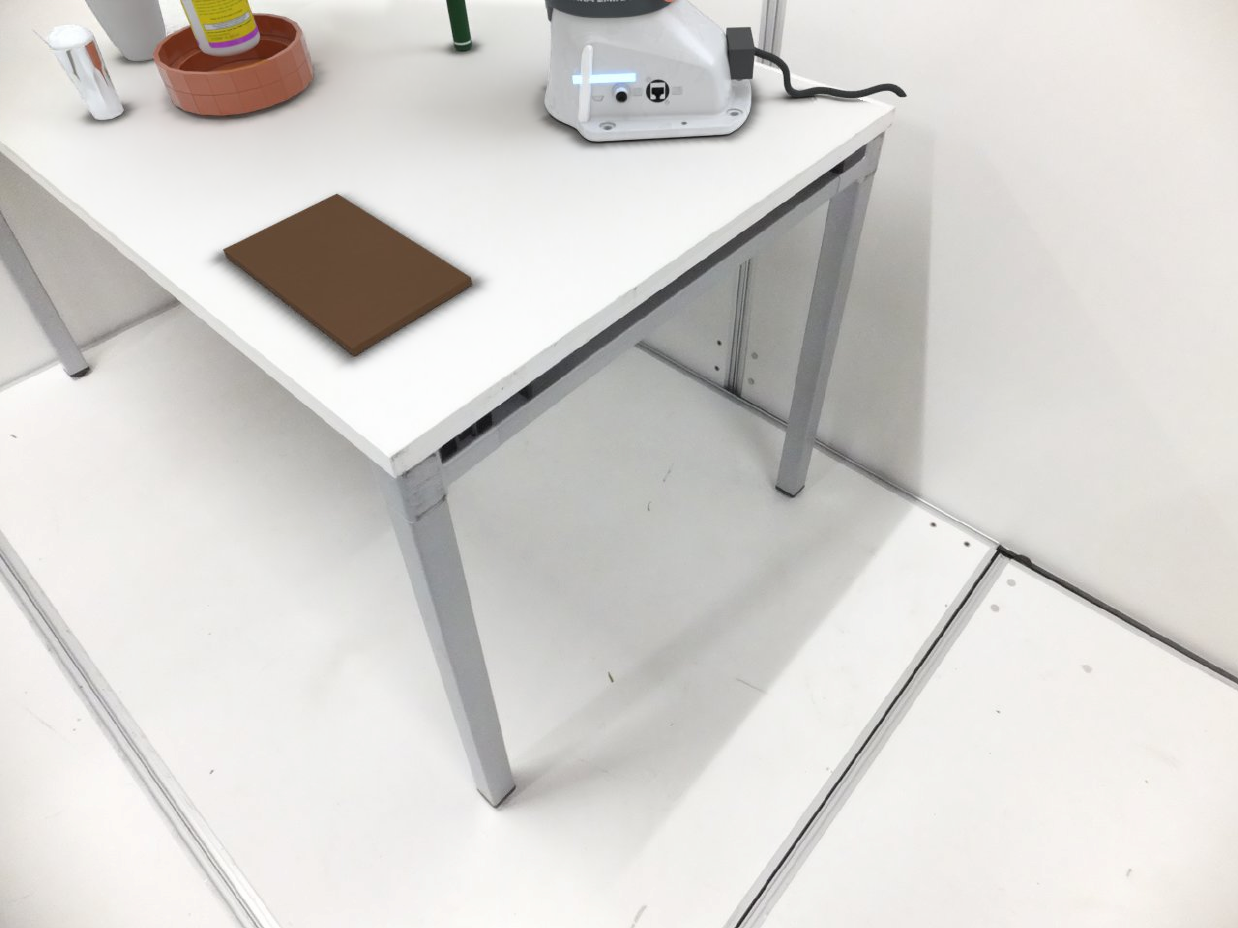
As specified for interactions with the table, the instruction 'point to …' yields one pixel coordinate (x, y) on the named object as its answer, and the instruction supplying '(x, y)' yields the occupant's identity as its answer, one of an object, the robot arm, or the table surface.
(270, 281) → the mat
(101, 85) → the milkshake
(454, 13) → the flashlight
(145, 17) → the cup
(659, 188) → the table surface
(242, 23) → the supplement bottle
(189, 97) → the bowl
